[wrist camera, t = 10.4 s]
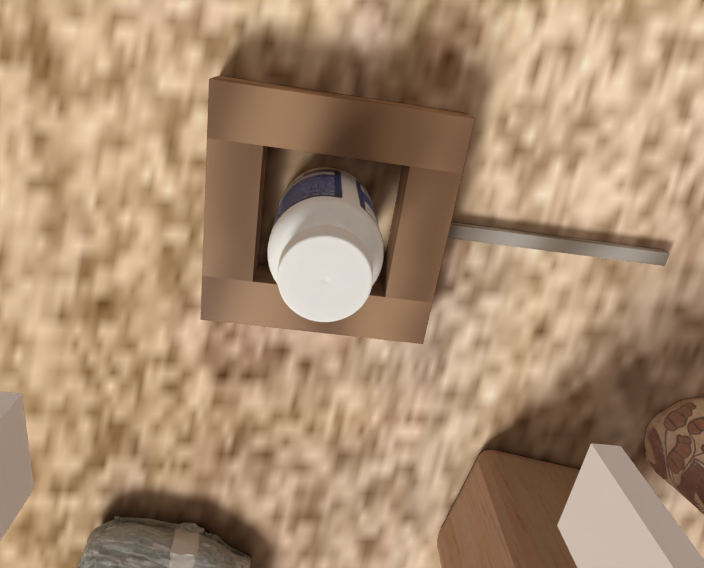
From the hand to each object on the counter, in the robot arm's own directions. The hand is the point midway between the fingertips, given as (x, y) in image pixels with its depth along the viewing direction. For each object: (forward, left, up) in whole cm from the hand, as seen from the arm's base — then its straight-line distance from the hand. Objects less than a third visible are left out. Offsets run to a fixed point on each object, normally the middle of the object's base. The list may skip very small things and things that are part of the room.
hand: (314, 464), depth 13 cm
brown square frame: (+7, 0, -20) cm, 21 cm away
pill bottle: (0, 0, -20) cm, 20 cm away
